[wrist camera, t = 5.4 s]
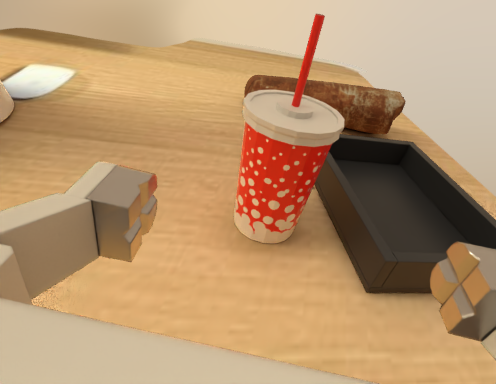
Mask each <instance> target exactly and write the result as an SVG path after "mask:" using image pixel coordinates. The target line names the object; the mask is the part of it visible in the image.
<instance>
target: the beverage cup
mask: <svg viewBox="0 0 496 384" xmlns="http://www.w3.org/2000/svg"><path fill="white" fill-rule="evenodd" d="M324 17H325V16H324V15H321V14H316V15H315V19H314V22H313V26H312V30H311V33H310V37H309V41H308V45H307V48H306V52H305V56H304V60H303V63H302V67H301V71H300V75H299V79H298V82H297V86H296V90H295V93H294V92H289V91H282V90H258V91H255V92H251V93H248V95H247V96H246V97H245V98H244V99H243V106H244V108H243V110H242V114H243V118H244V121H245V124H244V132H243V141H242V149H241V158H240V166H239V175H238V183H237V192H236V200H235V209H234V222H235V225H236V227H237V228H238V229H239V231H240V232H241V233H242V234H244V235H245V236H247V237H248V238H250V239H252V240H255V241H258V242H261V243H279V242H282V241H285V240H286V239H287V238H289V237H290V236H291V235H292V233H293V231H294V228H295V226H296V224H297V222H298V219H299V217H300V215H301V213H302V210H303V208H304V206H305V204H306V201H307V199H308V197H309V195H310V192H311V190H312V188H313V186H314V183H315V181H316V179H317V177H318V175H319V172H320V170H321V168H322V166H323V163H324V161H325V159H326V157H327V154H328V152H329V150H330V148H331V145H332V143H334V142H335V141H336V140H338V139H339V135H340V132H342V131H343V128H344V120H345V119H344V118H343V117H342V115H341V114H340V113H339V112H338V111H337V110H336V109H334V108H332V107H331V106H329V105H328V104H326V103H324V102H322V101H319V100H317V99H314V98H312V97H310V96H306V95H303V92H304V88H305V85H306V81H307V77H308V74H309V70H310V67H311V63H312V60H313V56H314V53H315V49H316V45H317V42H318V38H319V35H320V31H321V28H322V24H323V20H324Z"/></svg>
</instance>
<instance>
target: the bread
mask: <svg viewBox="0 0 496 384" xmlns="http://www.w3.org/2000/svg"><path fill="white" fill-rule="evenodd" d="M297 82H298V79H296V78H289V77H276V76H265V75H254V76H252V77H251V78H250V79H249V80H248V82H247V84H246V87H245V96H244V97H246V96H247V95H248V93H251V92H255V91H258V90H282V91H289V92H294V93H295V90H296V86H297ZM303 95H306V96H310V97H312V98H314V99H317V100H319V101H322V102H324V103H326V104H328V105H329V106H331V107H332V108H334V109H336V110H337V111H338V112H339V113H340V114H341V115H342V117H343V118H344V119H345V120H344V127H346V128H349V129H353V130H357V131H361V132H366V133H371V134H387V133H388V131H389V129H390V126H391V125H392V122H393V120H394V119H395V118H396V117H397V116H398V115H400V113H401V112H402V110H403V107H404V105H405V100H404V97H402V96H401V93H400V92H397V91H389V90H385V89H376V88H371V87H363V86H355V85H348V84H339V83H333V82H323V81H313V80H307V81H306V85H305V88H304V92H303Z"/></svg>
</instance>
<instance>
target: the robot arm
mask: <svg viewBox="0 0 496 384" xmlns="http://www.w3.org/2000/svg"><path fill="white" fill-rule="evenodd" d="M13 108H14V101H13V99H12V98H11V96H10V95H9V93H8V92H7V90H6V89H5V87H4V85H3V84H2V82H1V80H0V122H2V121H3V120H5V119H6V118H7V117H8V116H9V115H10V114H11V112H12V111H13ZM156 188H157V176H156V175H155V174H153V173H149V172H145V171H141V170H137V169H133V168H129V167H125V166H121V165H116V164H112V163H107V162H103V161H100V162H96V163H95V164H94V165H93V166H92V167H91V168H90V169H89V170H88V171H87V172H86V173H85V174H84V175H83V176H82V177H81V178H80V179H79V180H77V181H76V182H75V183H74V184H73V185H72V186H71V187H70V188H69V189H68V190H67V191H66V192H65V193H64V194H60V193H55V194H52V195H49V196H46V197H43V198H40V199H36V200H33V201H30V202H27V203H24V204H21V205H17V206H14V207H11V208H8V209H5V210H2V211H0V384H379V383H374V382H370V381H365V380H361V379H357V378H352V377H348V376H343V375H339V374H335V373H330V372H326V371H321V370H317V369H312V368H308V367H304V366H299V365H295V364H290V363H286V362H282V361H277V360H273V359H268V358H264V357H260V356H255V355H251V354H246V353H242V352H238V351H233V350H229V349H224V348H220V347H216V346H211V345H207V344H202V343H198V342H193V341H189V340H185V339H180V338H176V337H171V336H167V335H162V334H158V333H154V332H149V331H145V330H140V329H136V328H132V327H127V326H123V325H118V324H114V323H109V322H105V321H101V320H96V319H92V318H87V317H83V316H78V315H74V314H70V313H65V312H61V311H56V310H52V309H47V308H43V307H39V306H34V305H33V304H32V301H31V299H33V298H34V297H36V296H38V295H39V294H41V293H43V292H44V291H46V290H47V289H49V288H51V287H52V286H54V285H55V284H57V283H59V282H60V281H62V280H63V279H65V278H67V277H68V276H70V275H71V274H73V273H75V272H76V271H78V270H80V269H81V268H83V267H84V266H86V265H88V264H89V263H91V262H92V261H94V260H96V259H97V258H99V256H103V257H108V258H113V259H118V260H123V261H128V262H132V260H133V258H134V257H135V255H136V253H137V251H138V250H139V248H140V246H141V245H142V235H144V234H146V233H148V232H149V230H150V229H151V227H152V225H153V222H154V219H155V216H156V210H157V199H156V198H155V197H154V195H153V193H154V192H155V190H156ZM446 254H447V259H445V260H442V261H440V262H438V263H437V264H436V266H435V267H434V269H433V270H432V272H431V277H430V288H431V291H432V294H433V296H434V297H435V298H436V299H437V300H438V301H439V302H440V303H441V304H442V306H441V308H440V310H439V311H440V314H441V316H442V319H443V321H444V324H445V326H446V329H447V331H448V333H449V334H453V335H457V336H461V337H465V338H469V339H473V340H477V341H481V344H482V345H483V346H484V347H485V349H486V350H487V351H488V352H489V353H490V354H491V355H492V357H493V358H494V359H495V360H496V249H491V248H486V247H481V246H477V245H472V244H467V243H463V242H458V241H457V242H455V243H454V244H452V245H451V246H450V247H449V248H448V250H447V251H446Z"/></svg>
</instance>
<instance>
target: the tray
mask: <svg viewBox="0 0 496 384" xmlns="http://www.w3.org/2000/svg"><path fill="white" fill-rule="evenodd" d="M314 184H315V186H316V188H317V190H318V192H319V194H320V196H321V199H322V201H323V203H324V205H325V207H326V209H327V211H328V213H329V215H330V217H331V219H332V221H333V224H334V226H335V228H336V230H337V232H338V234H339V236H340V238H341V240H342V242H343V244H344V246H345V248H346V251H347V253H348V255H349V257H350V259H351V261H352V263H353V265H354V267H355V269H356V271H357V273H358V275H359V278H360V280H361V282H362V284H363V286H364V288H365V290H366V292H411V293H432V291H431V288H430V277H431V272H432V270H433V269H434V267H435V266H436V264H437V263H438V262H440V261H442V260H445V259H447V254H446V251H447V250H448V248H449V247H450V246H451V245H452V244H454V243H455V242H457V241H458V242H463V243H467V244H472V245H477V246H481V247H486V248H491V249H496V220H495V219H494V218H493V217H492V216H491V215H490V214H489V213H488V212H487V211H485V210H484V209H483V208H482V207H481V206H480V205H479V204H478V203H477V202H476V201H475V200H474V199H473V198H472V197H471V196H470V195H468V194H467V193H466V192H465V191H464V190H463V189H462V188H461V187H460V186H459V185H458V184H457V183H456V182H455V181H454V180H453V179H451V178H450V177H449V176H448V175H447V174H446V173H445V172H444V171H443V170H442V169H441V168H440V167H439V166H438V165H437V164H436V163H434V162H433V161H432V160H431V159H430V158H429V157H428V156H427V155H426V154H425V153H424V152H423V151H422V150H421V149H420V148H418V147H417V146H416V145H415V144H414V143H413V142H408V141H399V140H390V139H381V138H372V137H362V136H353V135H344V134H340V135H339V139H338V140H336V141H335V142H334V143H332V145H331V148H330V150H329V152H328V154H327V157H326V159H325V161H324V163H323V166H322V168H321V170H320V172H319V175H318V177H317V179H316V181H315V183H314Z"/></svg>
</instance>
